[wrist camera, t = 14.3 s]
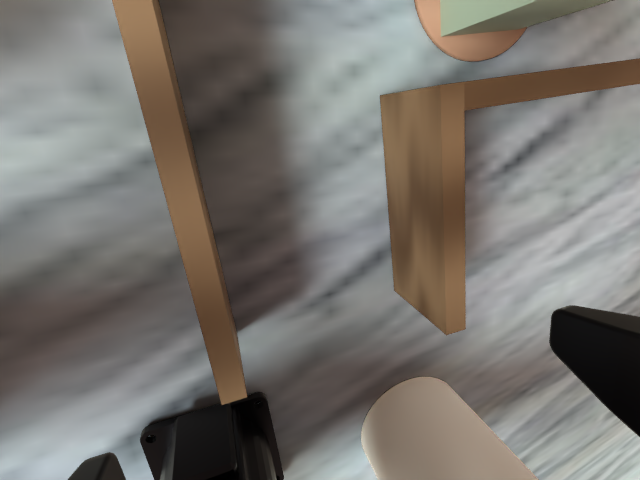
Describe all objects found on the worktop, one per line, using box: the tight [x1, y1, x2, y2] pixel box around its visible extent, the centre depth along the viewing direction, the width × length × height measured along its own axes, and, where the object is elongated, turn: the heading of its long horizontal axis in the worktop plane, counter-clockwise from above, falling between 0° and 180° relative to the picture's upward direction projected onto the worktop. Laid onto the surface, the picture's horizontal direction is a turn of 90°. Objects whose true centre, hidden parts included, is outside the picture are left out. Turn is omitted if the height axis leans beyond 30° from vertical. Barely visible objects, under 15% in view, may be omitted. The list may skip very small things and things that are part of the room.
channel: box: [112, 0, 640, 405], centre depth 16 cm, size 20×20×5 cm
